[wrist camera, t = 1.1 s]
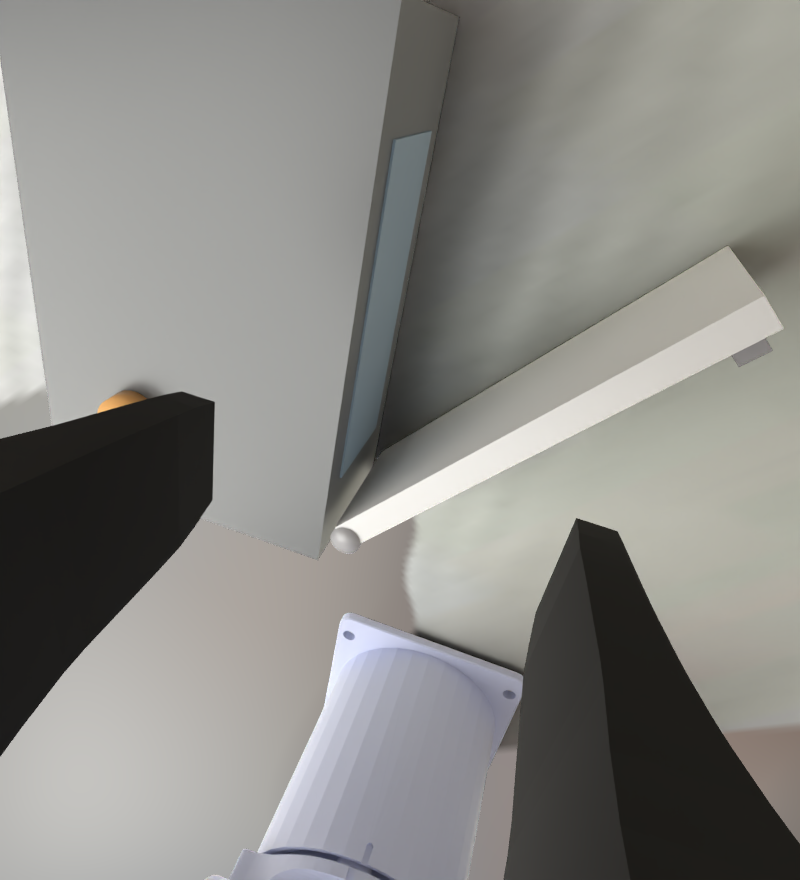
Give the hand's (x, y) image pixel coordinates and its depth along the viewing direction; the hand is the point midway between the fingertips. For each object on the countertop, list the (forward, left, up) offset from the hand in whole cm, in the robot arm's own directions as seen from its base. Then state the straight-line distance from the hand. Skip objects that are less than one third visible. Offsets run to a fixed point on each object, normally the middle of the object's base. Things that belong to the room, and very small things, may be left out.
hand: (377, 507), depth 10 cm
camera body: (0, +7, -10) cm, 13 cm away
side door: (-2, -2, -10) cm, 11 cm away
